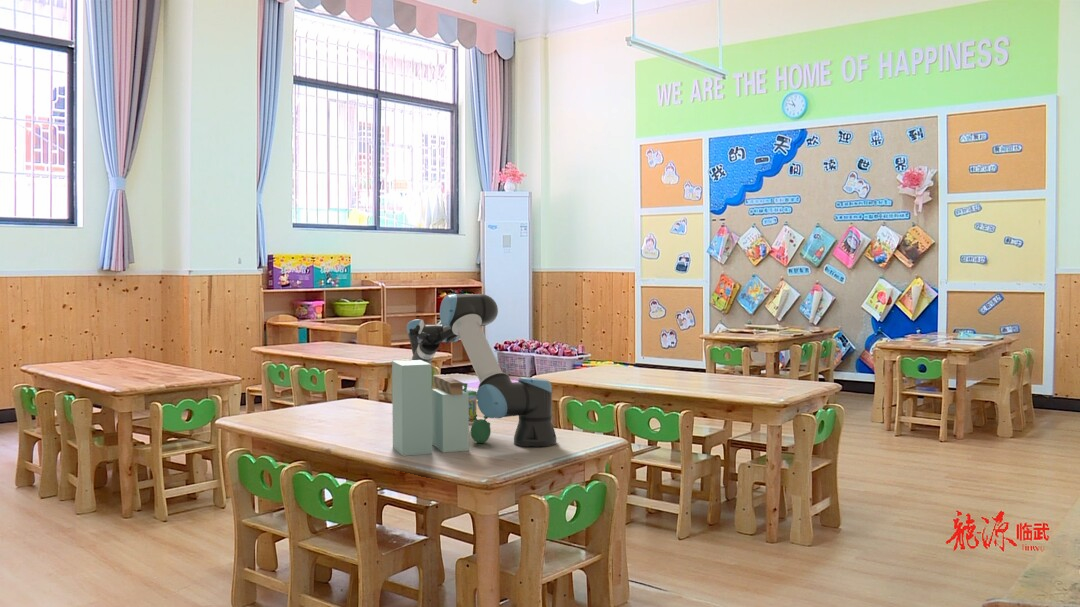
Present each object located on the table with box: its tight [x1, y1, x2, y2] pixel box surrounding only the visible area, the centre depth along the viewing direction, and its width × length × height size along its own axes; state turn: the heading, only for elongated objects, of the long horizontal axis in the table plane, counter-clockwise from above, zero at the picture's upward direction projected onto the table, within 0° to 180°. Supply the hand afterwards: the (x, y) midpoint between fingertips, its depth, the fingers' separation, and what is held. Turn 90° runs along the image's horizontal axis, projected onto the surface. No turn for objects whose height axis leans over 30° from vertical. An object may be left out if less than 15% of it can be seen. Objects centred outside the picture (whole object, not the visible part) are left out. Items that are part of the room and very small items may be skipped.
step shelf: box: [391, 359, 470, 457], centre depth 304 cm, size 16×23×30 cm
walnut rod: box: [432, 374, 464, 395], centre depth 309 cm, size 24×4×4 cm, turn 22°
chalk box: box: [462, 382, 478, 421], centre depth 364 cm, size 9×9×15 cm
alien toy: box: [470, 414, 491, 444], centre depth 315 cm, size 7×8×10 cm
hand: (440, 322), depth 333 cm, fingers open, 13 cm apart
